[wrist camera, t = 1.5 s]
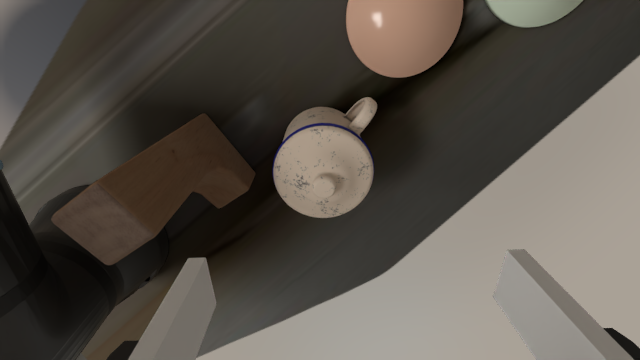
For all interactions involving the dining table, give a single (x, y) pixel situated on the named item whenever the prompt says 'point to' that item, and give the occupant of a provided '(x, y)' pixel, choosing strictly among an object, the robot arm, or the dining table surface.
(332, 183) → the teacup with lid
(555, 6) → the sage coaster
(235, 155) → the wooden block
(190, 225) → the dining table surface
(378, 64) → the pink coaster
